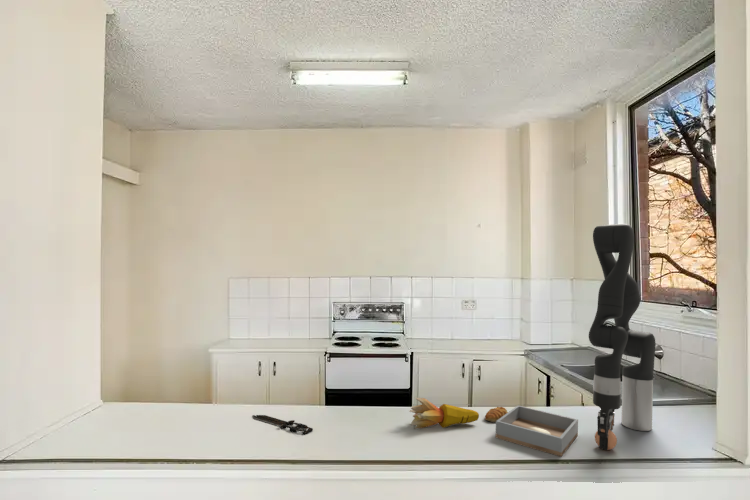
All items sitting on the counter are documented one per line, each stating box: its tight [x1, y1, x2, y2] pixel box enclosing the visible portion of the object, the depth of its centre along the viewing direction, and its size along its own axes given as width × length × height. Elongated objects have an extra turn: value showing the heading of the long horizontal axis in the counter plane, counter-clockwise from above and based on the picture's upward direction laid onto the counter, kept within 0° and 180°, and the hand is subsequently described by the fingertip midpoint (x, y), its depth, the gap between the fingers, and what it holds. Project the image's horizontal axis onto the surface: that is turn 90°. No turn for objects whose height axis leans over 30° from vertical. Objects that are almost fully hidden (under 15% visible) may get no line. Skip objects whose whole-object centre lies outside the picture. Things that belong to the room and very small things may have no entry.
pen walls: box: [495, 404, 579, 453], centre depth 140 cm, size 20×20×4 cm
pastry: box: [484, 406, 509, 423], centre depth 155 cm, size 9×7×4 cm
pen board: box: [495, 418, 579, 457], centre depth 140 cm, size 20×20×1 cm
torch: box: [408, 397, 480, 430], centre depth 147 cm, size 8×8×25 cm
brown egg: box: [594, 429, 618, 451], centre depth 133 cm, size 6×6×6 cm
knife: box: [252, 414, 314, 436], centre depth 145 cm, size 25×6×1 cm, turn 54°
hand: (605, 445), depth 133 cm, fingers closed on brown egg, 6 cm apart
